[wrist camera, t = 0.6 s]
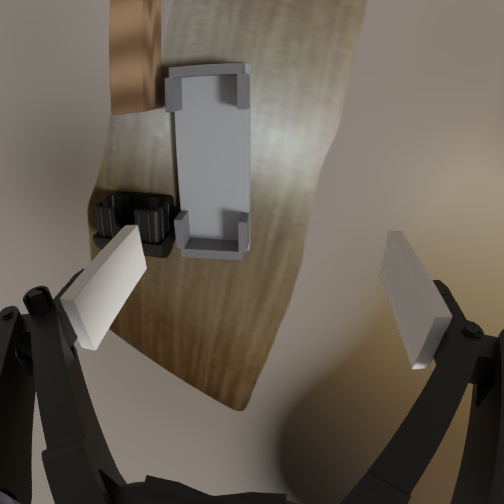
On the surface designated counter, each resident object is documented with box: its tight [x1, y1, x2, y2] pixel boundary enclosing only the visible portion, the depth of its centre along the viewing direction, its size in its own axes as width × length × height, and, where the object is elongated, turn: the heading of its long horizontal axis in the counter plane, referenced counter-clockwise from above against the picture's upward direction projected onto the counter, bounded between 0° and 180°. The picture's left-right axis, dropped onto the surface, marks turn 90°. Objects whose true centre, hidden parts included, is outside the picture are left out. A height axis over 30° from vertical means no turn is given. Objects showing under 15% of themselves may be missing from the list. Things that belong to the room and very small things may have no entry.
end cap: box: [93, 191, 175, 258], centre depth 40 cm, size 10×7×7 cm
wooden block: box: [109, 0, 162, 116], centre depth 29 cm, size 16×4×6 cm, turn 0°
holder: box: [165, 63, 251, 260], centre depth 37 cm, size 24×9×4 cm, turn 0°
